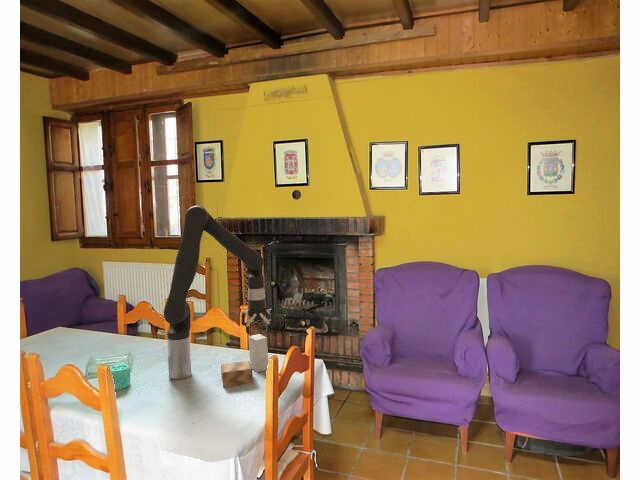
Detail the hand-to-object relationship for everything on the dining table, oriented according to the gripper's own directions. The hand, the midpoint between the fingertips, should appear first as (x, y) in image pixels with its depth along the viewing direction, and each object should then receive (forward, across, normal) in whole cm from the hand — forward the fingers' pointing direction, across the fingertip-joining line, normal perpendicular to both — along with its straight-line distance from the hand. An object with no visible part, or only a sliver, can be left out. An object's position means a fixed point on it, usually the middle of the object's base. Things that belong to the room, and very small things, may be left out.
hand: (258, 333), depth 189 cm
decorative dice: (+16, -58, +1) cm, 60 cm away
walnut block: (+16, -11, -10) cm, 22 cm away
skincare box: (+17, 0, 0) cm, 17 cm away
